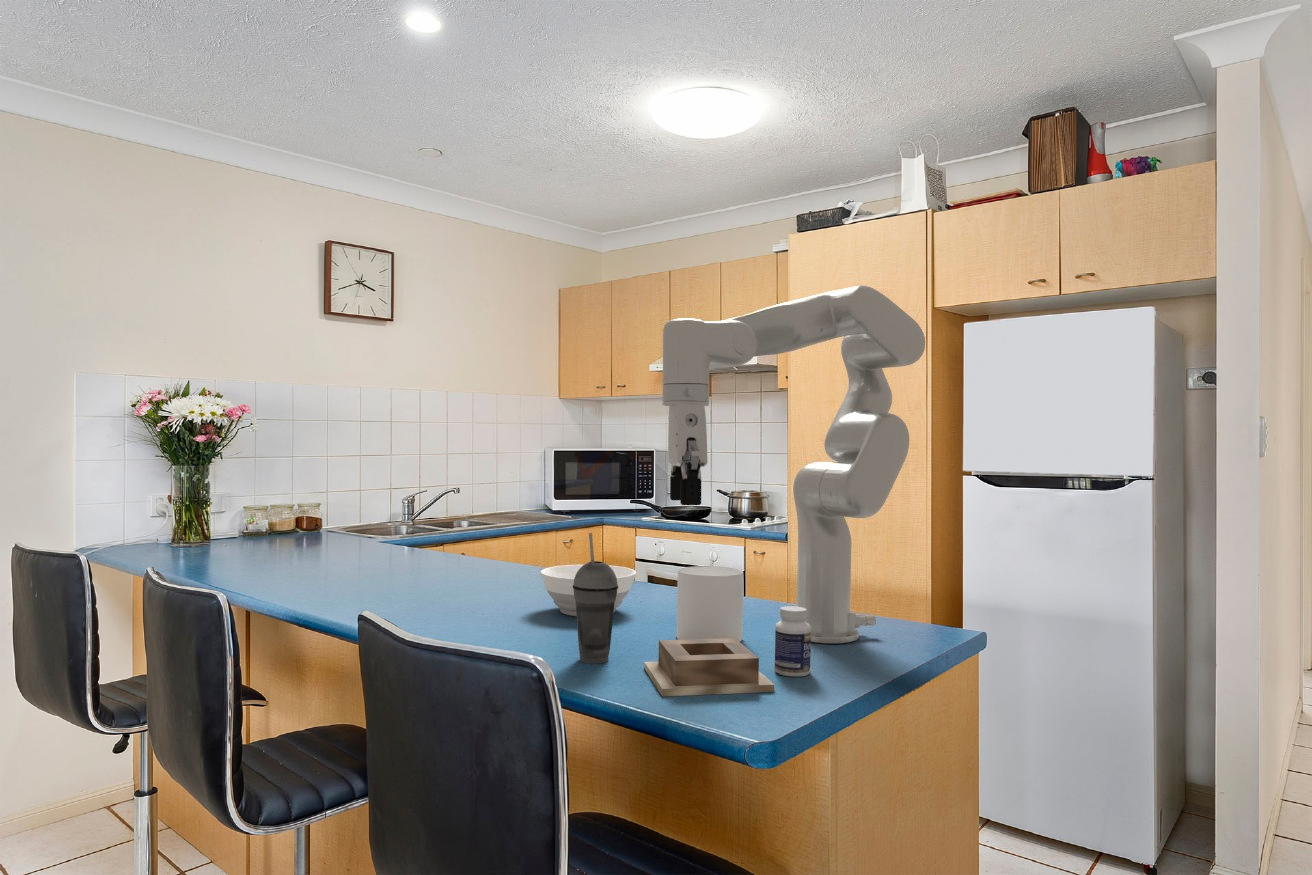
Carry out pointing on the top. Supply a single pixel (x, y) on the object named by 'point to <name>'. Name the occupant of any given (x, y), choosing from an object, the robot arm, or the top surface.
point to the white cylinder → (709, 603)
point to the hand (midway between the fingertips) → (685, 502)
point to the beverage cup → (594, 608)
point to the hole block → (706, 668)
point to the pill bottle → (792, 642)
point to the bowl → (562, 583)
